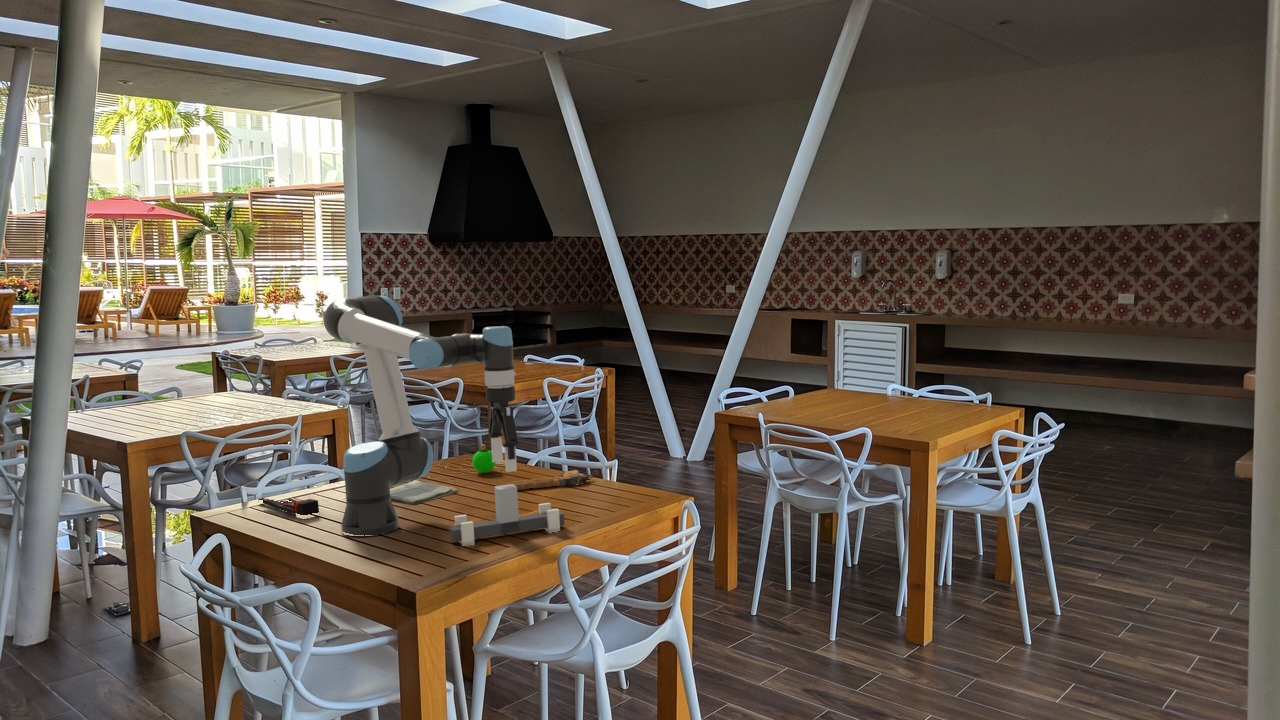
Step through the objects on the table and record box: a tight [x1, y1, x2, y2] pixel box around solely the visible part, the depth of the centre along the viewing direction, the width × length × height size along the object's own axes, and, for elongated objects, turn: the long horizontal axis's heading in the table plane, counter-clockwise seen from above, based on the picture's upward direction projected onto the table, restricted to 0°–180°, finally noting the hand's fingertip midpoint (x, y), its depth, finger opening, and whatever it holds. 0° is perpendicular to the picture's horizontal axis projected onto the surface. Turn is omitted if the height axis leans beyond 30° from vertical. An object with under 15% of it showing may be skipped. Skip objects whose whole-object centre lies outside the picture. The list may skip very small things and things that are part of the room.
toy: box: [258, 497, 320, 515], centre depth 281 cm, size 8×5×30 cm
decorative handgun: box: [506, 469, 593, 491], centre depth 303 cm, size 3×28×15 cm
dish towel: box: [390, 479, 459, 506], centre depth 294 cm, size 19×18×3 cm
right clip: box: [538, 502, 561, 534], centre depth 250 cm, size 3×8×6 cm, turn 23°
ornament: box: [472, 443, 497, 474], centre depth 321 cm, size 8×8×10 cm
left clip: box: [453, 514, 475, 547], centre depth 241 cm, size 3×8×6 cm, turn 23°
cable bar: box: [448, 484, 565, 543], centre depth 245 cm, size 30×4×12 cm, turn 114°
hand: (504, 466), depth 244 cm, fingers open, 13 cm apart
